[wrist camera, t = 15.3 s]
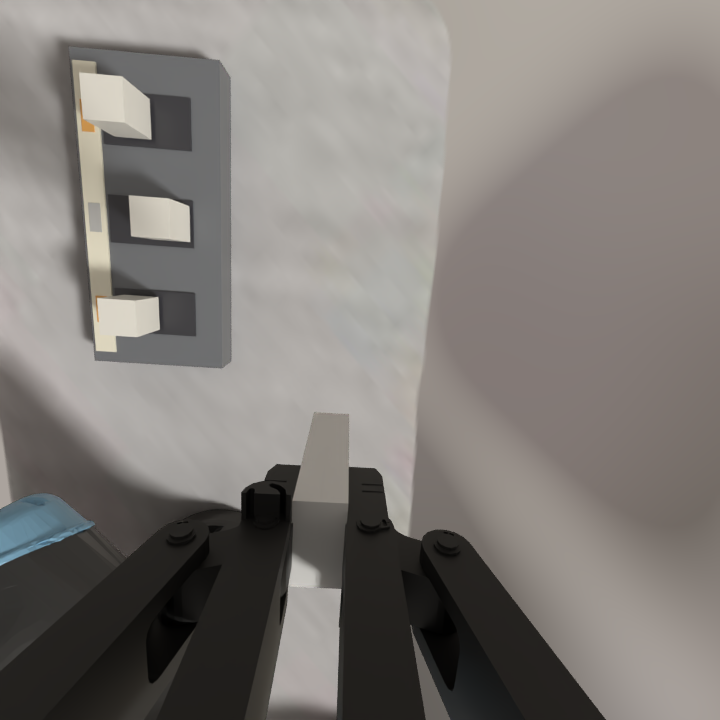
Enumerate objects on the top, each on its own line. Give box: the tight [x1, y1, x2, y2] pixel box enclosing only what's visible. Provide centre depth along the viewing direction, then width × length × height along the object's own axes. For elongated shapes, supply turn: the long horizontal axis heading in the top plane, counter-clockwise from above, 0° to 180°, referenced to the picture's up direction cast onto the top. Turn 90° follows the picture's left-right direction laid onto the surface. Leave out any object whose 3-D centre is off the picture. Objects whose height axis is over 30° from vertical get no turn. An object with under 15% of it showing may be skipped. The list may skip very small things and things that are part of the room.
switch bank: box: [68, 46, 231, 368], centre depth 36 cm, size 26×12×3 cm, turn 176°
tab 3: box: [129, 195, 190, 242], centre depth 32 cm, size 3×3×4 cm
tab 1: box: [79, 72, 151, 140], centre depth 31 cm, size 3×3×4 cm
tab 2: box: [97, 295, 160, 337], centre depth 34 cm, size 3×3×4 cm
